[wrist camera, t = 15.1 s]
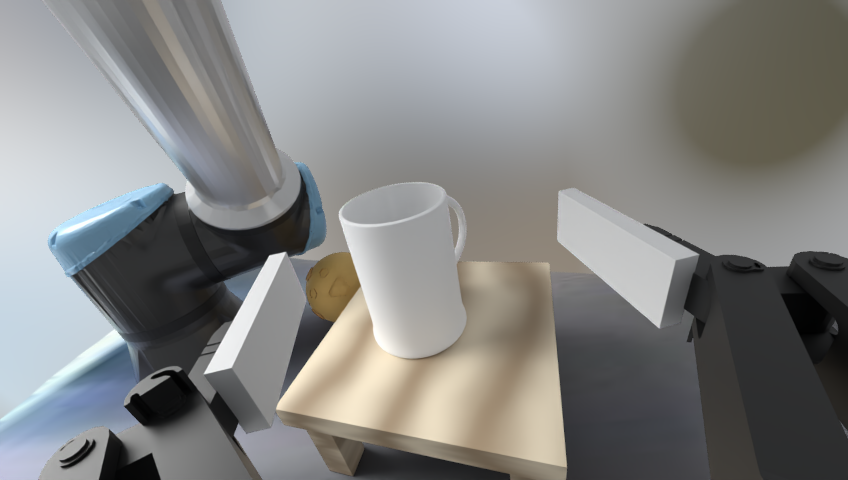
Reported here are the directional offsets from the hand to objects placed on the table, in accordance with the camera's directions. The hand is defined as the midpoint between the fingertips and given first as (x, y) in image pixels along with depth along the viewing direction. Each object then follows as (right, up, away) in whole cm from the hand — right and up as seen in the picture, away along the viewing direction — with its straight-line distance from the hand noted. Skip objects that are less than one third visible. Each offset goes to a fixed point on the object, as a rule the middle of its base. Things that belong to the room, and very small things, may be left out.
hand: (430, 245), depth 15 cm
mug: (+1, -7, +15) cm, 16 cm away
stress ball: (-11, -11, +32) cm, 36 cm away
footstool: (+2, -16, +18) cm, 24 cm away
